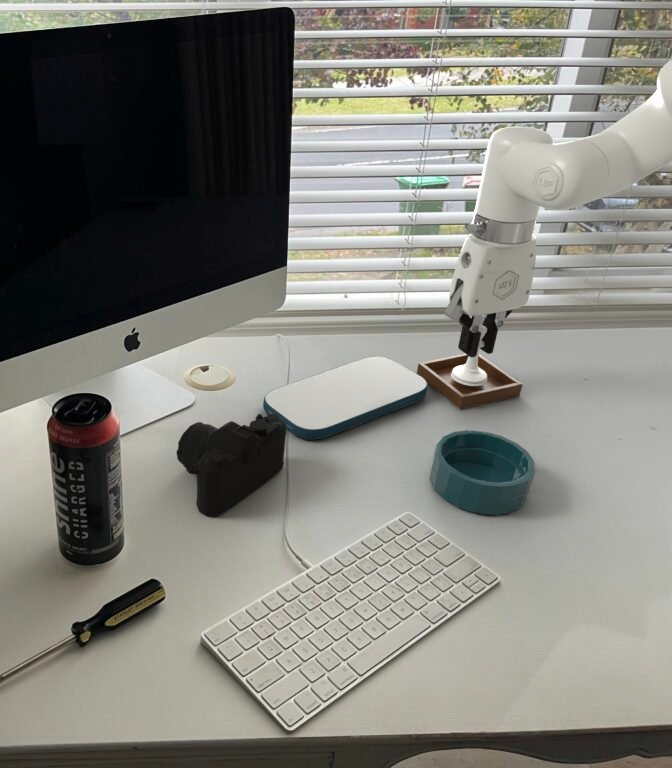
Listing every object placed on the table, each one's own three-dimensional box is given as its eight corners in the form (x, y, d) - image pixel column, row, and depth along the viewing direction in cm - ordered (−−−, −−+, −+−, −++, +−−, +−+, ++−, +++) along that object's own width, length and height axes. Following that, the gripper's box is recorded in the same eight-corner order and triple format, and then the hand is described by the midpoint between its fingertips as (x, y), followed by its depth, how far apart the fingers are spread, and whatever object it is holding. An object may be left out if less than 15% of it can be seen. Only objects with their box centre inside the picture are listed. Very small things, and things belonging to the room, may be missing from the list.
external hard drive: (378, 363, 122) (379, 351, 121) (436, 397, 113) (438, 385, 112) (253, 407, 111) (254, 395, 110) (306, 448, 103) (308, 436, 102)
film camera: (234, 437, 105) (236, 379, 101) (293, 468, 99) (298, 408, 95) (152, 489, 96) (151, 427, 92) (212, 526, 90) (214, 463, 86)
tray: (473, 362, 122) (475, 351, 121) (519, 395, 113) (522, 384, 112) (416, 374, 119) (418, 362, 118) (459, 409, 110) (462, 397, 109)
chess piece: (448, 381, 114) (461, 319, 109) (453, 366, 118) (466, 305, 113) (484, 389, 112) (499, 326, 107) (488, 373, 116) (503, 311, 111)
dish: (484, 451, 102) (491, 422, 100) (547, 504, 93) (556, 474, 91) (410, 470, 99) (416, 440, 97) (468, 526, 90) (476, 495, 88)
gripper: (470, 245, 98) (444, 373, 108) (573, 228, 103) (539, 353, 112) (433, 225, 104) (411, 348, 114) (531, 210, 109) (502, 330, 118)
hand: (475, 350), depth 113 cm, fingers closed on chess piece
